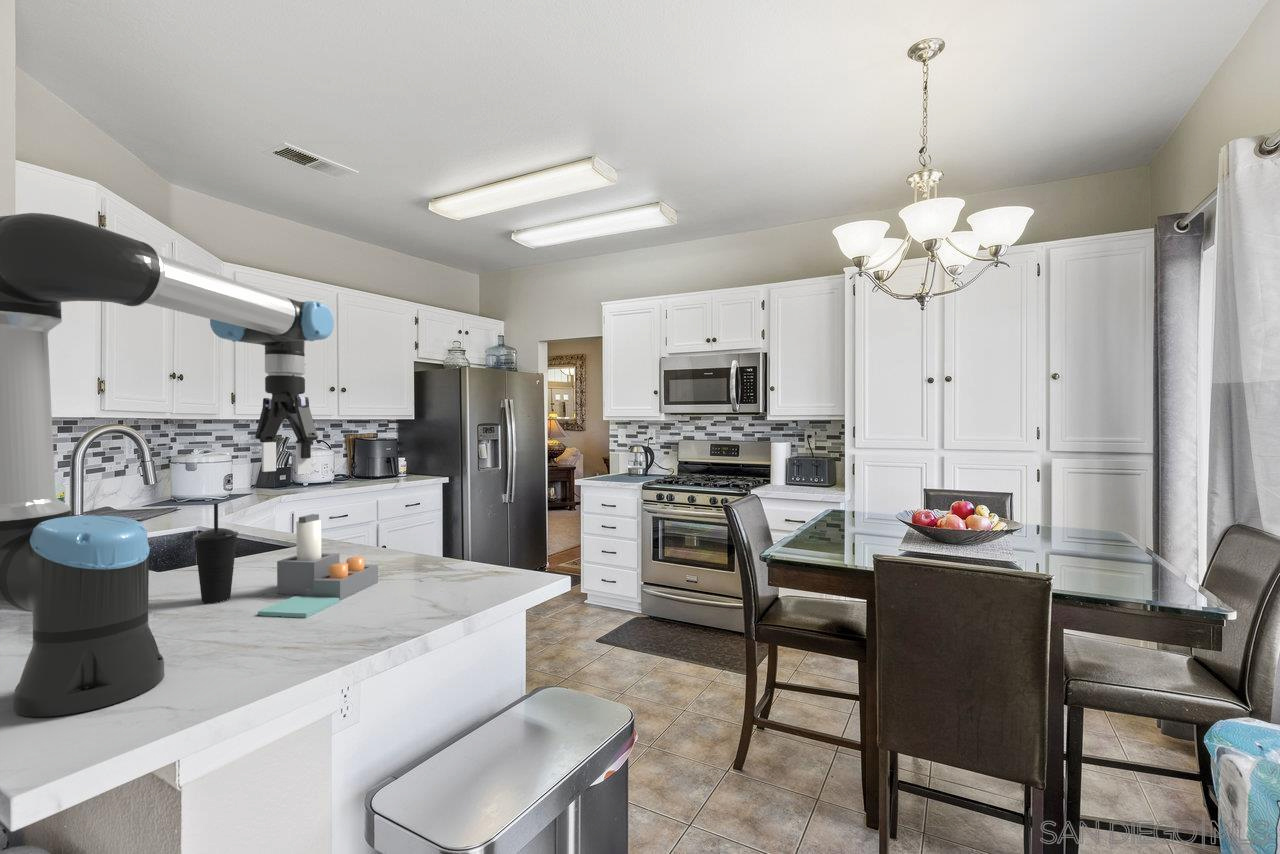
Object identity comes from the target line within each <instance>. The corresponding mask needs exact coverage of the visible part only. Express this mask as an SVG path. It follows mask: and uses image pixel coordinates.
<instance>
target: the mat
mask: <svg viewBox="0 0 1280 854" xmlns="http://www.w3.org/2000/svg"><path fill="white" fill-rule="evenodd" d="M337 603H340V600H339V598H327V597H306V596H302V595H299V596H297V595H296V596H295V595H294V596H292V597H289V598H287V599H285V600H281V601H280V602H277V603H275V604H272V605H270V606H267V607H265V608H262V609H261V610H258V611H257V616H258V615H261V617H279V616H281V617H282V618H283V617H284V618H303V619H305V618H309V617H311V616H313V615H316V614H317V613H320V612H322V611H324V610H325V609H328V608H329V607H331V606H333V605H336V604H337Z"/></svg>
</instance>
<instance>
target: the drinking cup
mask: <svg viewBox="0 0 1280 854" xmlns="http://www.w3.org/2000/svg"><path fill="white" fill-rule="evenodd" d="M238 536H239V532H238V531H235V530H233V529H229V528H225V527H219V503H216V502H215V503H214V504H213V528H209V529H206V530H203V531H201V532H199V533H197V534H194V535H193V536H192V539H193V541H194V545H195V552H196V553H195V555H196V562H197V570H198V572H197V573H198V581H199V587H200V588H199V589H200V598H201V603H202V602H204V603H203V604H206V603H211V604H214V603H213V602H219V603H221V602H220V601H223V600H227V599H229V598H230V599H231V595H232V586H233V575H234V566H235V557H236V548H237V547H236V546H237V537H238ZM230 599H229V600H230ZM227 601H228V600H227Z"/></svg>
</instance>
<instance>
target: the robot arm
mask: <svg viewBox="0 0 1280 854" xmlns="http://www.w3.org/2000/svg"><path fill="white" fill-rule="evenodd" d="M67 302H68V303H69V302H105V303H114V304H120V305H123V306H126V307H127V306H128V307H140V306H142V305H144V304H147V305H152V306H157V307H160V308H164V309H169V310H172V311H176V312H180V313H186V314H189V315H194V316H197V317H201V318H206V319H209V325H210V328H211V330H212V332H213V333H214V334H215V336H217V337H218V338H220V339H223V340H228V341H231V342H234V343H235V342H237V343H238V342H239V343H247V344H253V345H254V344H255V345H260V346H261V345H262V346H264V373H265V374H267V376H266V377H264V392H265V393H266V394H271V397H269V398H268V397H264V398H263V399H262V408H261V413H260V417H259V419H258V423H257V424H258V425H257V428H256V432H255V435H254V437H255V439H256V440H259V442H260V443H261V472H262V473H263V472H264V473H267V472H277V438H276V436H277V434H278V431H279V430H280V427H281V425H282V423H283V421H284V420H287V421H288V423H289V424H290V426H291V428H292V430H293V432H294V435H295V438H296V439H297V440H296V441H295V475H307V474H310V475H311V471H312V470H311V465H312V460H311V459H312V458H311V457H312V449H311V448H312V446H311V445H312V443H313V442H314V441H317V440H318V438H319V437H318V436H319V435H318V432H317V429H316V426H315V422H314V418H313V415H312V412H311V409H310V398H309V397H308V396H300V395H303V394H305V393H306V378H305V377H303V376H304V375H305V373H306V372H305V371H306V370H305V369H306V368H305V366H306V362H305V357H306V356H305V355H306V354H305V343H306V341H307V342H314V341H322V340H326V339H328V337H330V336H331V334H332V333H333V331H334V321H335V319H334V315H333V313H332V311H331V309H330V308H329V307H328V306H327V305H326V304H325V303H323V302H320V301H312V300H306V301H299V300H295V299H292V298H289V297H287V296H282V295H279V294H276V293H273V292H271V291H267V290H264V289H262V288H259V287H255V286H252V285H249V284H247V283H244V282H241V281H238V280H235V279H232V278H229V277H226V276H223V275H219V274H216V273H213V272H211V271H208V270H205V269H203V268H199V267H196V266H194V265H190V264H187V263H184V262H181V261H178V260H175V259H172V258H169V257H166V256H163V255H162V254H159V252H158V251H157V250H156V249H155V248H154V247H153V246H152V245H151V244H148V243H146V242H144V241H140V240H139V239H135V238H132V237H130V236H126V235H123V234H120V233H117V232H115V231H112V230H110V229H106V228H103V227H99V226H96V225H94V224H90V223H87V222H82V221H80V220H77V219H74V218H68V217H65V216H60V215H56V214H50V213H49V214H48V213H39V212H28V213H27V212H26V213H17V214H10V215H3V216H2V215H1V216H0V611H2V610H3V611H17V612H28V613H29V612H30V613H32V646H31V649H30V652H29V653H28V658H27V660H26V662H25V664H24V667H23V669H22V673H21V677H20V680H19V682H18V683H17V685H16V686H15V689H14V692H13V710H14V711H13V712H14V713H15V714H17V715H20V716H23V717H31V718H46V717H58V716H64V715H66V716H67V715H72V714H79V713H82V712H88V711H93V710H97V709H100V708H104V707H108V706H111V705H114V704H117V703H120V702H123V701H127V700H129V699H131V698H134V697H137V696H139V695H141V694H143V693H146V692H148V691H149V690H151V689H153V688H155V687H156V686H157V685H159V684H160V683H161V682H162V681H163V679H164V678H165V659H164V657H163V655H162V654H161V653H160V650H159V647H158V643H157V641H156V640H155V637H154V634H153V633H152V630H151V628H150V623H149V579H150V578H149V576H150V574H149V571H150V568H149V567H150V565H149V564H150V551H151V548H150V545H149V539H148V532H147V528H146V527H145V525H144V524H143V523H141V522H140V521H139V520H138V521H137V520H136V519H133V518H129V517H125V516H124V517H123V516H115V515H102V516H100V515H72V513H71V512H72V511H71V510H72V507H71V506H69V505H68V504H66V503H65V502H63V501H62V500H61V499H59V498H58V497H57V496H56V479H55V478H56V477H55V476H56V475H55V459H54V457H55V456H54V455H55V454H54V453H55V452H54V437H53V436H54V433H53V418H52V417H53V416H52V415H53V414H52V413H53V411H52V396H51V395H52V394H51V374H50V353H49V336H48V335H49V332H51V330H53V329H54V328H56V327H57V326H59V325H60V324H61V323H62V322H63V321H62V320H63V319H62V303H67Z"/></svg>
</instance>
